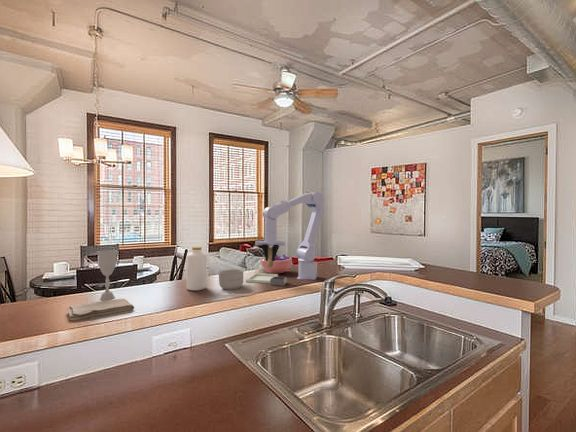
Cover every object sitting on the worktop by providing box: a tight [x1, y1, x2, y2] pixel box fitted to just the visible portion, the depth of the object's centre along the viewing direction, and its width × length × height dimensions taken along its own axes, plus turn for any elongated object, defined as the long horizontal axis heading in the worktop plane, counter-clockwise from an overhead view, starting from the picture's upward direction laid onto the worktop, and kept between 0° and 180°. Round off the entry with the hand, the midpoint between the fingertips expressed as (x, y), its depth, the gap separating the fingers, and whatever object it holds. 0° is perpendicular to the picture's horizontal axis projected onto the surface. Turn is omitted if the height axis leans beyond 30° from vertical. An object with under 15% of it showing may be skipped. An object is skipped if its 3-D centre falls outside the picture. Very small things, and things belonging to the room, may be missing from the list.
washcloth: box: [66, 298, 135, 322], centre depth 103 cm, size 12×18×3 cm, turn 130°
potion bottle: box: [186, 246, 208, 292], centre depth 134 cm, size 8×8×18 cm
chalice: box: [96, 249, 118, 301], centre depth 119 cm, size 7×7×18 cm
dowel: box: [268, 246, 273, 267], centre depth 147 cm, size 3×3×9 cm
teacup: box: [217, 268, 244, 291], centre depth 136 cm, size 14×11×8 cm
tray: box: [244, 272, 279, 284], centre depth 152 cm, size 12×16×2 cm
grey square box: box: [269, 276, 288, 287], centre depth 142 cm, size 6×6×3 cm
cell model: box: [259, 254, 293, 275], centre depth 170 cm, size 17×20×11 cm
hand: (270, 260), depth 147 cm, fingers closed on dowel, 3 cm apart
